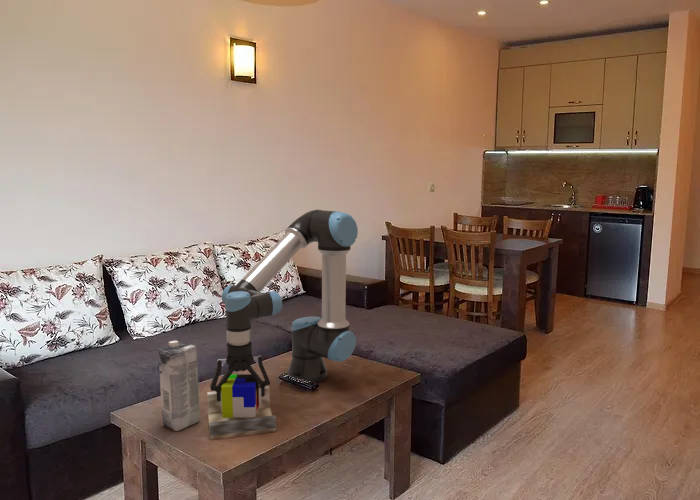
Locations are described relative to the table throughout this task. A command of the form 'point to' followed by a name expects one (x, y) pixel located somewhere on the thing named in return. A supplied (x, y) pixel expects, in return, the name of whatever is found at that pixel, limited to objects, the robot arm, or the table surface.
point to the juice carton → (179, 385)
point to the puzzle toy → (239, 396)
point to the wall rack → (239, 419)
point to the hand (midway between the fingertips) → (241, 408)
